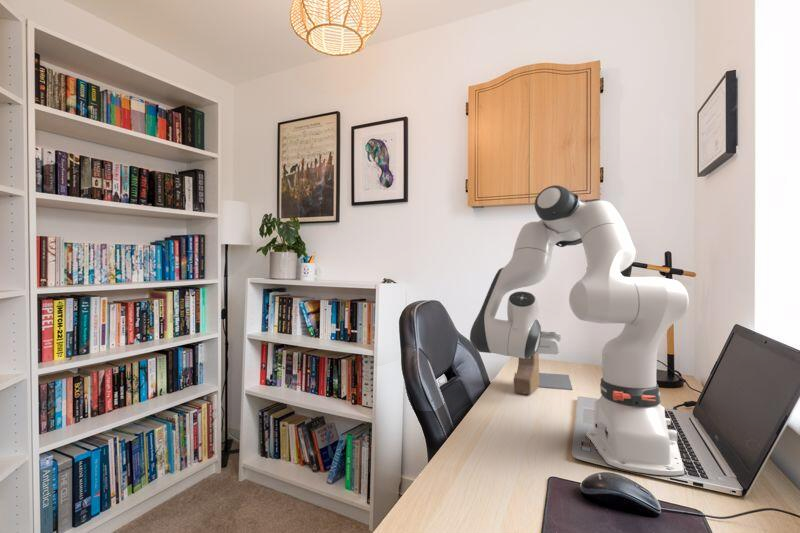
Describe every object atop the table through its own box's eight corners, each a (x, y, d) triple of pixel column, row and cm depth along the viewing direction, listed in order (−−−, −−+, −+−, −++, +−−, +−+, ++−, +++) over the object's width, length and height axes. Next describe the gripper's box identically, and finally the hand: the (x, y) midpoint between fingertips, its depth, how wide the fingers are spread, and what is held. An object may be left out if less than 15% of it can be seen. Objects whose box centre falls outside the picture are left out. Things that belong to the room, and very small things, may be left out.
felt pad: (572, 390, 131) (572, 388, 131) (513, 385, 137) (513, 384, 137) (568, 375, 148) (568, 374, 148) (516, 372, 154) (516, 371, 154)
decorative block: (530, 395, 125) (529, 332, 125) (513, 392, 128) (511, 331, 129) (540, 386, 134) (538, 328, 134) (523, 384, 137) (522, 327, 138)
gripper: (560, 324, 117) (559, 350, 126) (491, 322, 124) (494, 347, 133) (561, 341, 113) (560, 367, 122) (489, 338, 120) (493, 363, 129)
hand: (525, 356), depth 128 cm, fingers closed
